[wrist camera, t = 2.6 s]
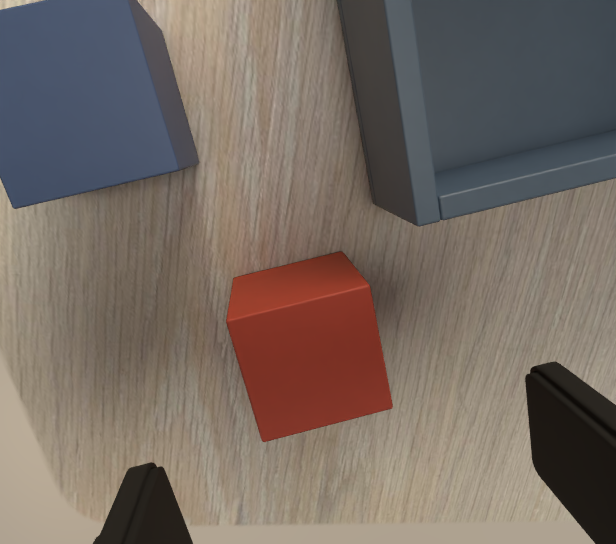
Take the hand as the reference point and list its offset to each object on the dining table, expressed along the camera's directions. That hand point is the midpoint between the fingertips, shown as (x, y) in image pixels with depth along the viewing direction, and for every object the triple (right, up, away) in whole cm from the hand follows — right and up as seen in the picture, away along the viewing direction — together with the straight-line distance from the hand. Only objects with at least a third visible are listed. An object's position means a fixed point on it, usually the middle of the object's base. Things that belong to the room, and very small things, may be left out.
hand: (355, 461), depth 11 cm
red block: (-2, +3, +9) cm, 10 cm away
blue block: (-9, +11, +6) cm, 15 cm away
